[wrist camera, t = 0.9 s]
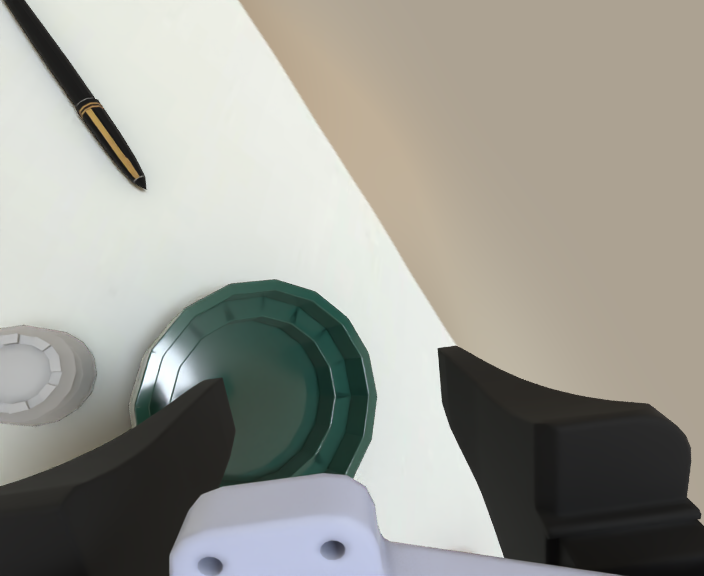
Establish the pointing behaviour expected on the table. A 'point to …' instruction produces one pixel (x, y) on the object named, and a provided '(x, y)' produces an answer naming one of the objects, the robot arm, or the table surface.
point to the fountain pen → (78, 92)
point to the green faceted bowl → (269, 378)
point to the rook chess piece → (42, 375)
